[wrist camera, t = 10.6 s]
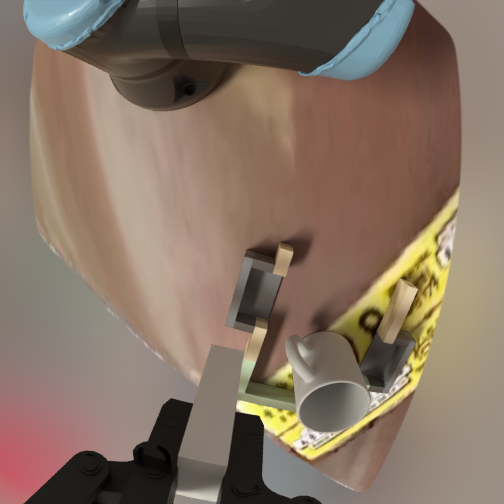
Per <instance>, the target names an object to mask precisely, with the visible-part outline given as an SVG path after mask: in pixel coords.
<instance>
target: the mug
mask: <svg viewBox="0 0 504 504" xmlns="http://www.w3.org/2000/svg"><path fill="white" fill-rule="evenodd" d="M286 353H287V357H288V360H289V363H290V364H291V366H292V372H293V381H294V391H295V402H296V412H297V416H298V419H299V421H300V422H301V424H302V425H303V426H304V427H306V428H307V429H309V430H311V431H314V432H319V433H334V432H339V431H342V430H345V429H348V428H350V427H352V426H353V425H355V424H356V423H358V422H359V421H360V420H361V419H362V418H363V417H364V416H365V414H366V413H367V411H368V409H369V406H370V401H371V399H370V393H369V390H368V388H367V385H366V383H365V380H364V378H363V375H362V373H361V370H360V368H359V366H358V363H357V361H356V358H355V356H354V353H353V350H352V348H351V346H350V344H349V342H348V341H347V340H346V339H345V338H344V337H343V336H342V335H340V334H338V333H335V332H330V331H321V332H316V333H313V334H310V335H308V336H306V337H305V338H303V339H302V338H301V337H299V336H297V335H292V336H290V337H289V338H288V339H287V341H286Z"/></svg>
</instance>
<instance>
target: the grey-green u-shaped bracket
mask: <svg viewBox="0 0 504 504" xmlns="http://www.w3.org/2000/svg"><path fill="white" fill-rule="evenodd" d="M293 253H294V252H293V248H292V246H291V245H288V244H284V243H281V242H280V243H279V246H278V249H277V252H276V255H275V258H274V257H270V256H267V255H263V254H260V253H256V252H253V251H249V250H246V253H245V257H244V260H243V264H242V267H241V271H240V274H239V278H238V281H237V285H236V288H235V292H234V295H233V299H232V302H231V306H230V309H229V313H228V316H227V320H226V324H225V326H227V327H231V328H234V329H238V330H242V331H245V332H249V333H250V336H249V339H248V342H247V345H246V348H245V351H244V355H243V361H242V368H241V375H240V382H239V389H238V396H237V400H242V401H246V402H250V403H254V404H259V405H263V406H268V407H273V408H278V409H283V410H288V411H293V412H296V402H295V391H292V390H287V389H282V388H278V387H273V386H269V385H264V384H260V383H256V382H252V381H249V380H250V377H251V374H252V371H253V369H254V366H255V363H256V360H257V358H258V355H259V352H260V349H261V346H262V344H263V341H264V338H265V335H266V332H267V321H268V317H269V314H270V311H271V308H272V305H273V302H274V299H275V296H276V293H277V290H278V287H279V284H280V281H281V278H282V276H284V277H286V274H287V271H288V268H289V265H290V262H291V259H292V256H293ZM417 290H418V289H417V288H416V287H415V286H414V285H413V284H412V283H411V282H410V281H408V280H404V279H401V278H400V279H399V281H398V284H397V286H396V288H395V291H394V293H393V296H392V298H391V300H390V303H389V305H388V307H387V310H386V312H385V314H384V316H383V319H382V321H381V323H380V325H379V327H378V329H377V332H376V334H375V336H374V338H373V340H372V342H371V344H370V346H369V348H368V350H367V352H366V354H365V356H364V358H363V360H362V362H361V364H360V366H359V368H360V370H361V373H362V375H363V378H364V380H365V383H366V385H367V388H368V390H369V391H371V392H378V393H386V394H387V393H388V392H389V390H390V389H391V387H392V385H393V384H394V382H395V380H396V378H397V377H398V375H399V373H400V371H401V370H402V368H403V366H404V364H405V362H406V361H407V359H408V357H409V355H410V353H411V351H412V349H413V348H414V346H415V344H416V341H415V340H414V338H413V337H412V336H411V335H410V333H409V332H407V331H403V330H400V328H401V326H402V324H403V322H404V319H405V317H406V315H407V313H408V311H409V309H410V306H411V304H412V302H413V299H414V297H415V295H416V292H417Z"/></svg>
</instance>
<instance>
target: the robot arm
mask: <svg viewBox="0 0 504 504" xmlns="http://www.w3.org/2000/svg"><path fill="white" fill-rule="evenodd" d="M414 8H415V4H414V2H413V1H412V0H24V8H23V14H24V20H25V22H26V23H27V28H28V30H29V31H30V32H31V33H32V34H33V35H34V36H35V37H37V38H38V39H40V40H41V41H43V42H44V43H46V44H47V45H48V46H49V47H50V48H52V49H55V50H61V51H63V52H65V53H67V54H69V55H72V56H74V57H76V58H78V59H80V60H82V61H84V62H86V63H88V64H91V65H93V66H95V67H97V68H99V69H101V70H103V71H105V72H107V73H109V75H110V78H111V80H112V82H113V84H114V86H115V88H116V89H117V91H118V92H119V93H120V94H121V95H122V96H123V97H124V98H125V99H127V100H128V101H130V102H131V103H133V104H135V105H138V106H140V107H142V108H145V109H148V110H153V111H172V110H177V109H181V108H184V107H187V106H189V105H192V104H194V103H196V102H197V101H199V100H201V99H202V98H204V97H205V96H206V95H208V94H209V93H210V92H211V91H212V90H213V89H214V88H215V87H216V86H217V85H218V84H219V83H220V81H221V80H222V78H223V77H224V75H225V73H226V72H227V69H228V67H229V64H230V63H241V64H250V65H258V66H266V67H273V68H279V69H286V70H292V71H297V72H298V74H300V75H302V76H316V75H318V76H324V77H330V78H335V79H340V80H346V81H352V80H356V79H360V78H365V77H367V76H369V75H371V74H372V73H374V72H375V71H376V70H378V69H379V68H380V67H381V66H382V65H383V64H384V63H385V62H386V61H387V60H388V58H389V57H390V56H391V55H392V53H393V52H394V50H395V49H396V47H397V46H398V44H399V43H400V41H401V39H402V37H403V35H404V33H405V32H406V29H407V27H408V25H409V23H410V20H411V18H412V15H413V12H414ZM243 354H244V351H242V350H237V349H232V348H227V347H222V346H217V345H213V344H212V345H211V348H210V351H209V355H208V358H207V361H206V364H205V368H204V371H203V374H202V377H201V381H200V384H199V387H198V391H197V394H196V397H195V401H194V404H192V403H188V402H183V401H179V400H176V399H172V398H171V399H170V400H168V401H167V402H166V403H165V404H164V405H163V406H162V408H161V411H160V413H159V416H158V418H157V420H156V423H155V425H154V428H153V430H152V432H151V435H150V437H149V440H148V441H146V442H143V443H140V444H139V445H137V446H136V447H135V448H134V450H133V457H134V460H132V461H128V462H118V461H107V459H106V458H105V457H103V456H102V455H101V454H99V453H97V452H94V451H83V452H79V453H77V454H76V455H74V456H73V457H72V458H71V459H70V460H69V461H68V462H67V463H66V464H65V465H64V466H63V467H62V468H61V469H60V470H59V471H58V472H57V473H56V474H55V475H54V476H52V477H51V479H49V480H48V481H47V482H46V483H45V484H44V485H43V486H42V487H41V488H40V489H39V490H38V491H37V492H36V493H35V494H34V495H32V496H31V497H30V498H29V499H28V500H27V501H26V502H25V503H24V504H173V501H174V497H175V494H179V495H183V496H188V497H192V498H197V499H202V500H207V501H212V502H217V504H321V502H320V501H318V500H317V499H315V498H313V497H310V496H297V497H294V498H292V499H290V498H287V497H285V496H282V495H279V494H277V493H275V492H273V491H271V490H270V489H269V488H268V487H267V486H266V485H265V484H264V481H263V479H262V463H263V439H264V438H263V436H264V425H263V423H262V421H261V419H260V417H259V416H257V415H251V414H245V413H239V412H235V410H236V403H237V396H238V389H239V382H240V375H241V368H242V361H243Z"/></svg>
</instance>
